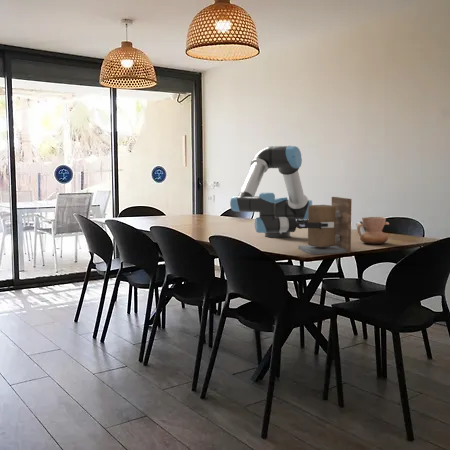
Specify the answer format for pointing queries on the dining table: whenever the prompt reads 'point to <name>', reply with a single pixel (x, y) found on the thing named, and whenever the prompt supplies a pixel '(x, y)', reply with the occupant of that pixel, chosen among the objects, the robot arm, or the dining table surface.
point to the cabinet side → (342, 222)
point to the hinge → (362, 229)
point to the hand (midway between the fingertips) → (328, 223)
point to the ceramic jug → (373, 230)
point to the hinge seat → (321, 249)
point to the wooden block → (323, 235)
